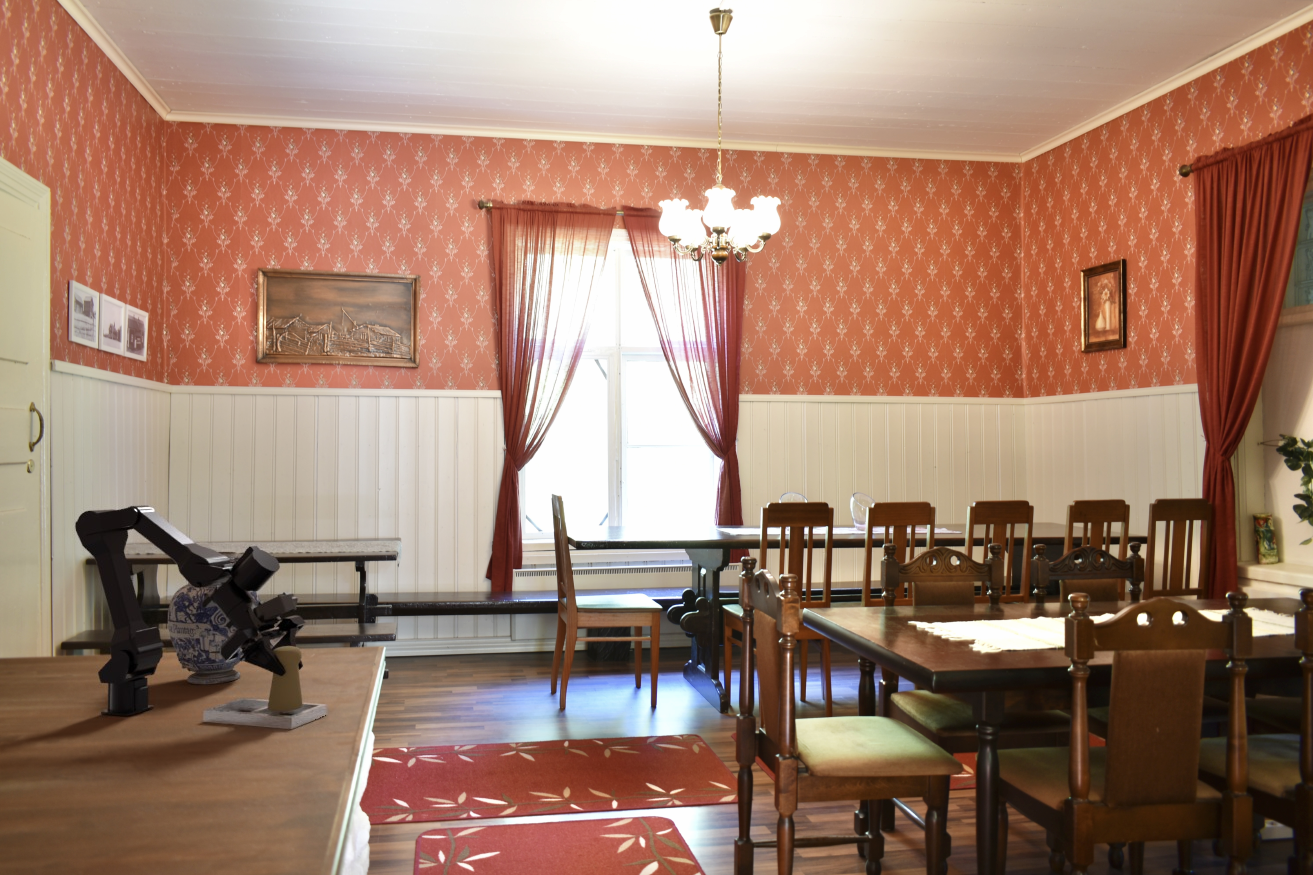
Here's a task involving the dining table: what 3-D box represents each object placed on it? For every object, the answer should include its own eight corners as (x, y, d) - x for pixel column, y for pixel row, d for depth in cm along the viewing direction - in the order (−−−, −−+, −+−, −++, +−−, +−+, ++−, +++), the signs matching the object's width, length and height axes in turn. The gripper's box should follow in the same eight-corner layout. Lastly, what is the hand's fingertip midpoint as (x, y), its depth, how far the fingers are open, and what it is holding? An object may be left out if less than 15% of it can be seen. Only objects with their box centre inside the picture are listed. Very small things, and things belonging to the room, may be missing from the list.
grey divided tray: (203, 721, 169) (203, 710, 169) (242, 708, 179) (242, 697, 179) (291, 729, 164) (291, 717, 164) (326, 714, 173) (326, 704, 174)
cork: (302, 709, 168) (303, 648, 169) (266, 712, 166) (267, 650, 167) (303, 702, 174) (304, 643, 175) (268, 704, 172) (270, 644, 173)
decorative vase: (144, 681, 203) (149, 552, 204) (222, 667, 218) (226, 548, 220) (202, 693, 191) (206, 557, 193) (280, 678, 207) (284, 552, 209)
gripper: (236, 584, 163) (291, 650, 160) (297, 573, 181) (348, 632, 178) (195, 627, 164) (249, 694, 161) (260, 612, 182) (310, 672, 180)
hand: (292, 671), depth 170 cm, fingers closed on cork, 5 cm apart
